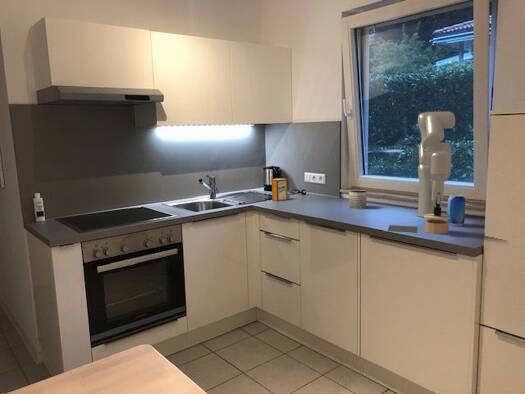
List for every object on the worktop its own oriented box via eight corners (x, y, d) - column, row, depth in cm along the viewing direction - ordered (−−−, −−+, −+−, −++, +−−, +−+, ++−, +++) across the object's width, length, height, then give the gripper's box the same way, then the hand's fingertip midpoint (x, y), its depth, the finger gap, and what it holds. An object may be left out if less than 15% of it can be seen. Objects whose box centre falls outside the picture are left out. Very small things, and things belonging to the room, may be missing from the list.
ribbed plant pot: (347, 208, 280) (347, 190, 279) (350, 205, 291) (350, 188, 289) (365, 209, 277) (366, 191, 275) (367, 206, 287) (367, 188, 286)
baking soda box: (282, 199, 325) (281, 177, 322) (287, 200, 320) (287, 178, 317) (272, 200, 319) (271, 179, 317) (277, 201, 314) (277, 179, 312)
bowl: (424, 228, 221) (425, 218, 221) (447, 230, 218) (448, 220, 217) (425, 233, 211) (425, 223, 211) (449, 235, 208) (449, 224, 207)
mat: (389, 225, 230) (389, 225, 230) (417, 227, 225) (417, 226, 225) (387, 231, 217) (387, 231, 217) (417, 233, 212) (417, 232, 212)
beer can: (459, 223, 233) (460, 193, 231) (467, 226, 225) (468, 196, 222) (444, 223, 233) (445, 194, 231) (451, 226, 225) (452, 196, 222)
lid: (423, 214, 221) (423, 203, 220) (449, 215, 217) (450, 204, 216) (423, 219, 210) (424, 207, 209) (451, 220, 206) (452, 208, 205)
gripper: (430, 175, 219) (428, 211, 222) (431, 179, 204) (429, 217, 207) (446, 176, 217) (444, 212, 220) (448, 179, 202) (446, 218, 204)
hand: (437, 214), depth 213 cm, fingers closed on lid, 2 cm apart
